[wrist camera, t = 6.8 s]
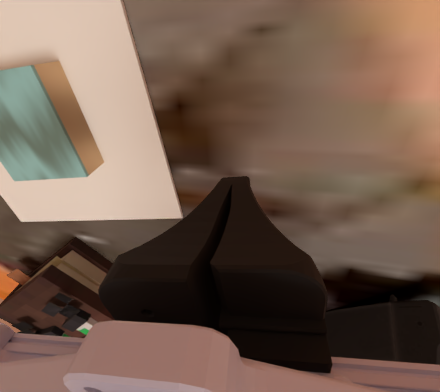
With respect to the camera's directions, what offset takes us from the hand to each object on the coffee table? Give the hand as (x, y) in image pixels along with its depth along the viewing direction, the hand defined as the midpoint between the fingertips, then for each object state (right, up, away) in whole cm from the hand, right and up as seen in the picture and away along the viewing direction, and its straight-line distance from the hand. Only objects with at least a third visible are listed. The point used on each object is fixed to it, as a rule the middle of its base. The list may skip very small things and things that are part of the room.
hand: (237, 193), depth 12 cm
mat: (-18, +7, +11) cm, 22 cm away
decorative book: (-19, -18, +29) cm, 39 cm away
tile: (-13, +6, +8) cm, 17 cm away
